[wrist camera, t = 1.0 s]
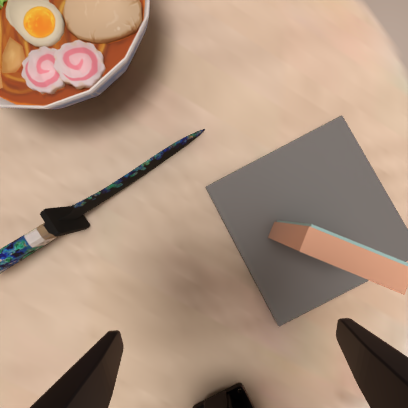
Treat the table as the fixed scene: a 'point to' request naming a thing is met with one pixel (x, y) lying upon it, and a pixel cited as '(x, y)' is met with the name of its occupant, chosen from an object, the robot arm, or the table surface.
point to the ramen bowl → (65, 49)
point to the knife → (78, 211)
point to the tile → (343, 253)
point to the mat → (307, 216)
